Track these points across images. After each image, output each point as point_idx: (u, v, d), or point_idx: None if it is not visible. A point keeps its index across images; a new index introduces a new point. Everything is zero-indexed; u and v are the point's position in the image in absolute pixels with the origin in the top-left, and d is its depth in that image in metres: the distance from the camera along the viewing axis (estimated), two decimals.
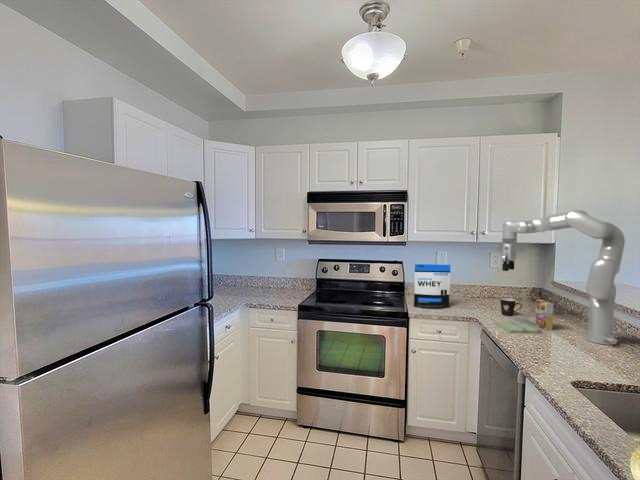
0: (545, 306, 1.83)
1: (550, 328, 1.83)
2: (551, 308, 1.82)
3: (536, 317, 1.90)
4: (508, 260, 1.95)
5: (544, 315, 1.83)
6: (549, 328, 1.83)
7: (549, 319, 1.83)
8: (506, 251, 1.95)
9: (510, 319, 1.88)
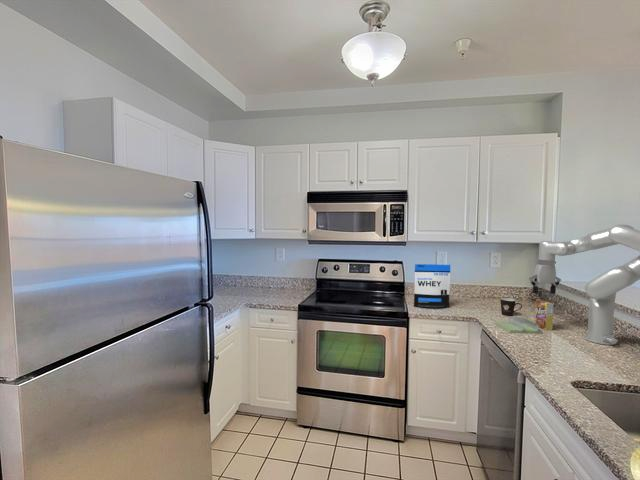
0: (545, 306, 1.83)
1: (550, 328, 1.83)
2: (551, 308, 1.82)
3: (536, 317, 1.90)
4: None
5: (544, 315, 1.83)
6: (549, 328, 1.83)
7: (549, 319, 1.83)
8: None
9: (510, 319, 1.88)
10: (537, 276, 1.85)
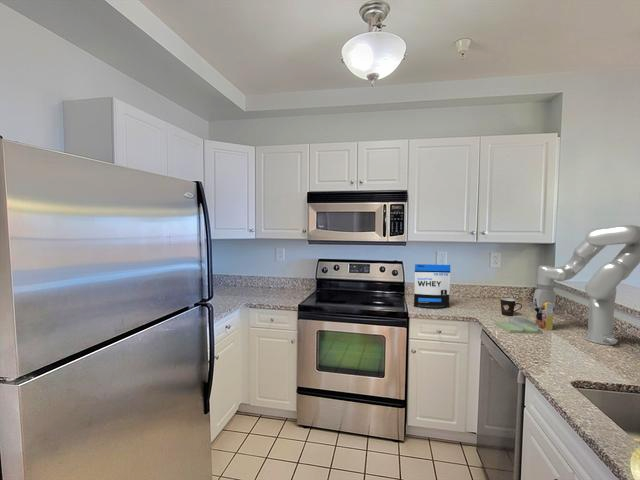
0: (545, 306, 1.83)
1: (550, 328, 1.83)
2: (551, 308, 1.82)
3: (536, 317, 1.90)
4: None
5: (544, 315, 1.83)
6: (549, 328, 1.83)
7: (549, 319, 1.83)
8: None
9: (510, 319, 1.88)
10: (536, 301, 1.85)
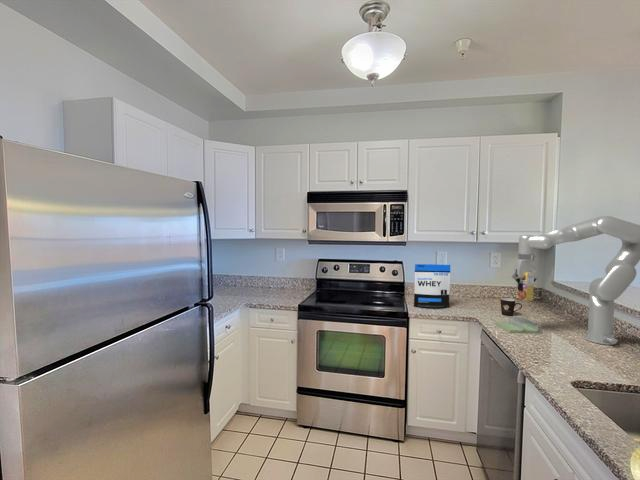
0: (526, 276, 1.78)
1: (531, 298, 1.78)
2: (532, 278, 1.77)
3: (517, 288, 1.85)
4: None
5: (525, 285, 1.79)
6: (529, 298, 1.78)
7: (530, 289, 1.78)
8: None
9: (510, 319, 1.88)
10: (517, 271, 1.81)
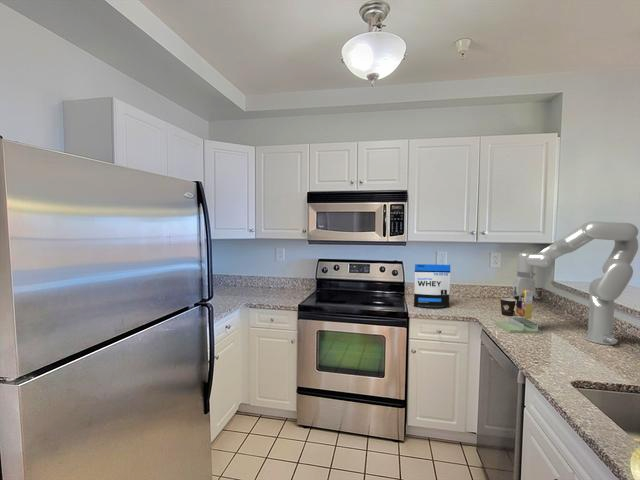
0: (525, 294, 1.79)
1: (529, 316, 1.79)
2: (531, 296, 1.78)
3: None
4: None
5: (524, 303, 1.79)
6: (528, 316, 1.79)
7: (529, 307, 1.78)
8: None
9: (510, 319, 1.88)
10: (516, 288, 1.81)
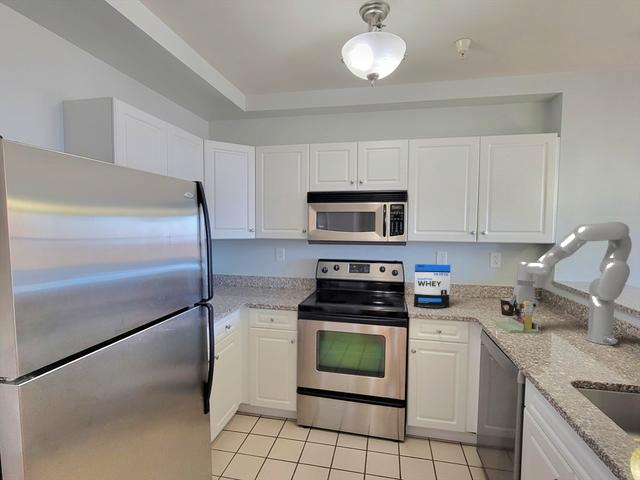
0: (524, 305, 1.79)
1: (529, 327, 1.79)
2: (530, 307, 1.78)
3: (516, 316, 1.86)
4: None
5: (523, 314, 1.79)
6: (528, 327, 1.79)
7: (529, 318, 1.78)
8: None
9: (510, 319, 1.88)
10: (516, 297, 1.81)
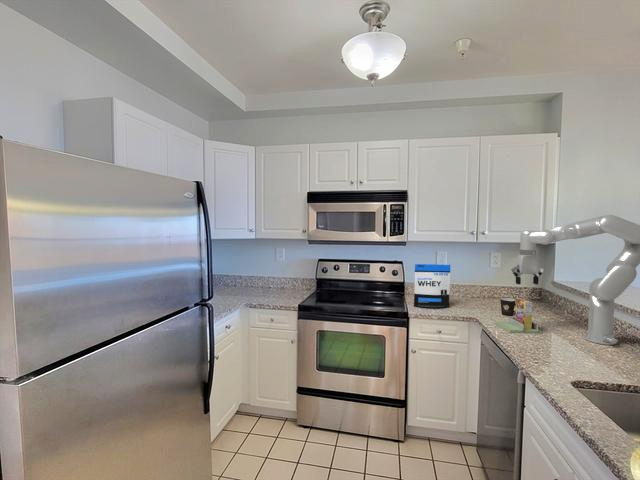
0: (524, 305, 1.79)
1: (529, 327, 1.79)
2: (530, 307, 1.78)
3: (516, 316, 1.86)
4: None
5: (523, 314, 1.79)
6: (528, 327, 1.79)
7: (528, 318, 1.78)
8: None
9: (510, 319, 1.88)
10: (519, 266, 1.81)
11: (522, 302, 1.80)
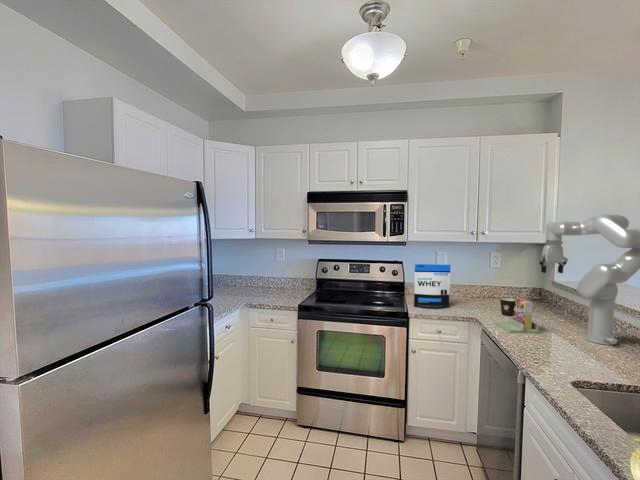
0: (524, 305, 1.79)
1: (529, 327, 1.79)
2: (530, 307, 1.78)
3: (516, 316, 1.86)
4: None
5: (523, 314, 1.79)
6: (528, 327, 1.79)
7: (528, 318, 1.78)
8: None
9: (510, 319, 1.88)
10: (545, 256, 1.92)
11: (522, 302, 1.80)
